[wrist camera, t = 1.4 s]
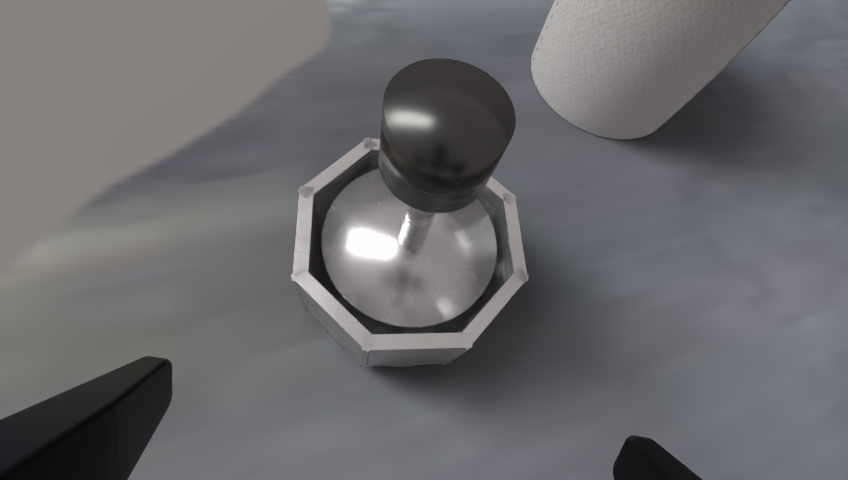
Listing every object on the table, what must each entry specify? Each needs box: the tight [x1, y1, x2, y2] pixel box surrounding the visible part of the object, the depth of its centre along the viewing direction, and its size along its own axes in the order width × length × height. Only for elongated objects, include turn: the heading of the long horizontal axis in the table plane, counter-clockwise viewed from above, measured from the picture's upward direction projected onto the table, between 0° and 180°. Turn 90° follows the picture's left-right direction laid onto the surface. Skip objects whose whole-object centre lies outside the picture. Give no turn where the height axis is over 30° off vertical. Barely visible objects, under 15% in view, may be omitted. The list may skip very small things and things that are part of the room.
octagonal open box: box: [291, 137, 529, 368], centre depth 21 cm, size 13×10×6 cm
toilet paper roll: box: [531, 0, 791, 140], centre depth 27 cm, size 12×12×12 cm
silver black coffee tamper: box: [322, 59, 516, 330], centre depth 15 cm, size 8×8×9 cm
